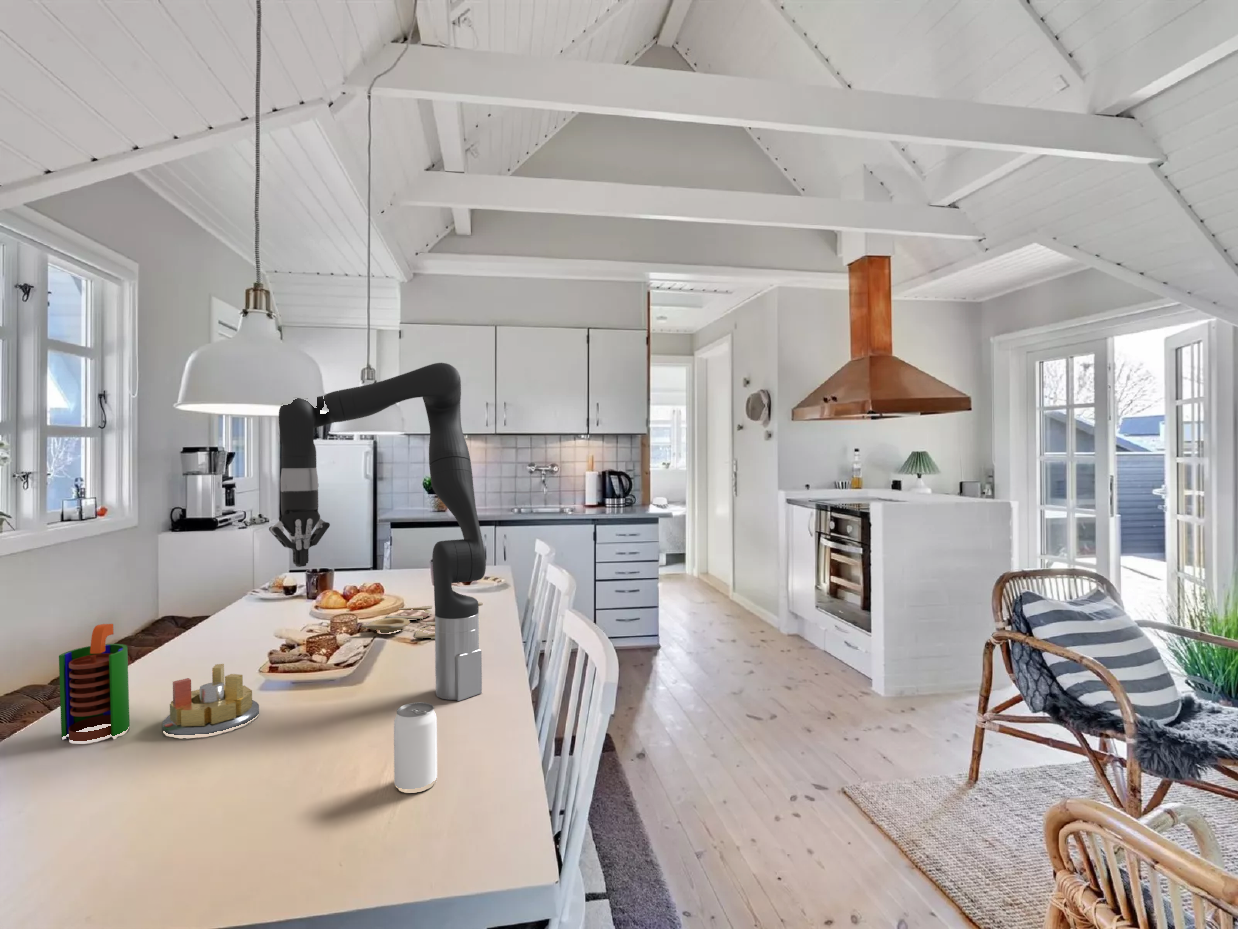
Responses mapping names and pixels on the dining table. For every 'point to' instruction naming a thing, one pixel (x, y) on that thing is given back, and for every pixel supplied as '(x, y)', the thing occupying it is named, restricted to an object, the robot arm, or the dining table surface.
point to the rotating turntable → (207, 696)
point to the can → (415, 745)
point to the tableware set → (402, 623)
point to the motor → (94, 688)
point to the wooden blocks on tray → (195, 714)
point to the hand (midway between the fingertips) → (300, 566)
